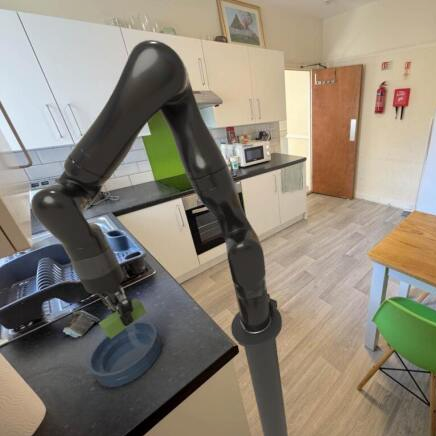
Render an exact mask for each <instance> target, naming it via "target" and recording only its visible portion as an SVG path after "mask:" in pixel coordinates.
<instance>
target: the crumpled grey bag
mask: <svg viewBox="0 0 436 436" xmlns="http://www.w3.org/2000/svg"><path fill="white" fill-rule="evenodd" d="M72 316H73V318H72V320H70V322H69V323H67V324H66V325H65V327H64V328H63V330H62V333H65V334H64V335H65V337H68V336H71V338H75V339H76V338H77V339H78V338H79V337H83V336H84V335H85V334H86V333H87V331H89V329H90V328H91V327H92V326H93V325H94V324H95V323H100V322H101V321H102V319H100V318H99V317H97V316H95V315H93V314H91V313H89V312H87V311H86V310H84V309H83V310H82V309H81V310H77V311H72Z"/></svg>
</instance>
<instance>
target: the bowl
mask: <svg viewBox="0 0 436 436" xmlns="http://www.w3.org/2000/svg"><path fill="white" fill-rule="evenodd" d="M161 350H162V339H161V337H160V335H159V333H158V330H157V328H156V326H155V325H154V324H153V323H151V322H149V321H144V320H142V321H135V322H133V323H132V324H131V325H129V326H128V327H127V328H125V329H124V330H122V331H121V332H120V333H118V334H117V335H116V336H114V337H113V338H112V339H111V338H110V337H108V336H107V335H105V337H104V338H103V339H101V340H100V342H99V343H97V345H96V346H95V347H94V348H93V350H92V351H91V353H90V355H89V359H88V362H87V365H88V369H89V372H90V373H91V375H92V376H93V378H94V379H95V380H96V381H97V382H98V384H99V385H100V386H103V387H107V388H115V387H121V386H123V385H126V384H128V383H131V382H133V381H134V380H136V379H137V378H139V377H140V376H142V375H143V374H144V373H145V372H146V371H148V370H149V369H150V368H151V367H152V365H154V363H155V361H156V360H157V359H158V357H159V355H160V353H161Z"/></svg>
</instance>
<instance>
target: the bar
mask: <svg viewBox="0 0 436 436" xmlns="http://www.w3.org/2000/svg"><path fill="white" fill-rule="evenodd" d="M131 301H132V307H133V312H131V315H132V317H133V322H137V320H139V319H140V318H141V317H143V316H144V315H145V314H147V311H146V309H145V306H144V304H143V303H142V301H140V300H139V299H138V298H134V299H131ZM133 322H132V323H133ZM132 323H130V324H129V325H131V324H132ZM98 325H99V326H100V328H101V330H102V331H103V332H104V334H105V336H108V337H110V338H111V339H112V338H113V337H114V336H116V335H117V334H118V333H120V332H121V331H122V330H124V329H125V328H127V327H128V326H129V325H128V326H124V325H123V323H122V321H121V319H120V318H119V316H118V314H117V313H116V312H114V313H112V314H110V315H108V316H107V317H105V318H104V319H102V320H101V321H99V322H98Z"/></svg>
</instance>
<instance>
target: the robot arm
mask: <svg viewBox="0 0 436 436" xmlns="http://www.w3.org/2000/svg"><path fill="white" fill-rule="evenodd" d="M158 112H160V114H161V116H162V118H163V119H164V121H165V122H166V125H167V126H168V128H169V130H170V132H171V135H172V137H173V141H174V144H175V147H176V151H177V154H178V157H179V160H180V163H181V165H182V168H183V170H184V173H185V175H186V177H187V179H188V181H189V183H190V185H191V187H192V189H193V191H194V192H195V195H196V196H197V197H198V199H199V201H200V202H201V203H202V204H203V205H204V207H205V208H206V209H207V210H208V211H209V212H210V213H211V214H212V216H213V217H214V218H215V220H216V222H217V223H218V226H219V229H220V231H221V233H222V236H223V239H224V242H225V246H226V248H225V249H226V256H227V261H228V266H229V267H228V268H229V271H230V276H231V280H232V283H233V287H234V288H233V289H234V292H235V297H236V301H237V302H236V303H237V306H238V312H240V316H241V321H242V322H241V321H240V322H241V324H242V327H243V330H244V331H245V332H246V333H248V334H252V335H256V334H260V333H263V332H264V331H266V330H267V329H268V328H269V326H270V324H271V317H272V312H274V311H275V310H276V308H277V309H278V301H277V300H276V299H273V298H272V297H271V295H270V294H269V293H268V287H267V282H266V275H267V273H266V262H265V255H264V249H263V245H262V243H261V241H260V237H259V236H258V234H257V233H256V230H255V229H254V227H253V226H252V225H251V223H250V221H249V219H248V218H247V216H246V214H245V211H244V210H243V207H242V204H241V200H240V196H239V192H238V189H237V186H236V183H235V179H234V177H233V175H232V172H231V171H230V168H229V165H228V163H227V161H226V159H225V157H224V155H223V153H222V151H221V149H220V147H219V145H218V143H217V141H216V140H215V138H214V136H213V135H212V132H211V131H210V129H209V128H208V126H207V124H206V122H205V120H204V118H203V116H202V113H201V111H200V108H199V104H198V102H197V99H196V96H195V93H194V89H193V88H192V84H191V81H190V76H189V72H188V69H187V67H186V65H185V63H184V61H183V59H182V58H181V56H180V55H179V54H178V53H177V51H176V50H175V49H173V48H172V47H171V46H170V45H168V44H166V43H165V42H162V41H159V40H156V39H155V40H154V39H146V40H143V41H140V42H138V43H137V44H135V46H134V47H133V48H132V49H131V51H130V53H129V55H128V58H127V60H126V62H125V65H124V67H123V69H122V71H121V73H120V76H119V79H118V81H117V82H116V85H115V87H114V88H113V90H112V93H111V94H110V97H109V98H108V100H107V102H105V105H104V107H103V108H102V109H101V111H100V112H99V114H98V115H97V116H96V118H95V120H94V121H93V122H92V123H91V125H90V126H89V128H88V129H87V130H86V131H85V133H84V134H83V135H82V137H81V138H80V139H79V141H78V142H77V143H76V145H75V146H74V148H73V149H72V150H71V152H69V154H68V156H67V157H66V158H65V161H64V163H63V169H64V170H63V171H62V173H61V174H60V176H59V177H58V178H57V180H55V181H54V182H53V183H52V184H50V185H48V186H46V187H44V188H42V189H40V190H39V191H37V192H35V194H34V195H33V196H32V198H31V204H30V206H31V210H32V213H33V215H34V217H35V218H36V220H37V221H38V222H39V223H40V224H41V226H43V227H44V228H45V229H46V231H48V232H49V233H50V234H51V235H52V236H53V237H54V238H55V239H56V240H58V241H59V242H60V243H61V245H62V247H63V249H64V251H65V252H66V255H67V256H68V258H69V260H70V262H71V265H72V268H73V270H74V272H75V273H76V275H77V278H78V279H79V281H80V282H81V284H82V286H83V288H84V289H85V291H86V292H87V293H88V294H92V295H98V297H99V298H100V300H101V302H102V303H103V305H104V306H106V307H107V309H108V310H110V311H111V312H112V314H113V313H114V312H116V313H117V314H118V316H119V318H120V319H121V321H122V323H123V325H124V326H128V325H129V324H130V323H132V322H133V317H132V315H131V312H133V307H132V298H131V297H130V296H126V294H125V290H124V287H123V286H121V285H120V284H121V283H122V282H123V281H124V279H125V273H124V272H123V269H122V267H121V264H120V263H119V261H118V258H117V256H116V254H115V252H114V250H113V249H112V247H111V246H110V244H109V242H108V240H107V237H106V235H105V233H104V231H103V229H102V228H101V226H100V225H99V224H97V223H94V222H89V221H88V220H87V219H86V217H85V215H84V212H85V211H86V210H87V209H89V208H90V206H91V205H92V204H93V203H94V202H95V200H96V198H98V195H99V194H100V192H101V190H102V188H103V187H104V186H105V184H106V182H107V181H109V180H110V178H111V177H112V176H113V175H114V173H115V172H116V171H117V169H118V168H119V167H120V165H122V163H123V161H124V160H125V159H126V157H127V156H128V154H129V152H130V150H131V149H132V147H133V145H134V143H135V142H136V140H137V138H138V136H139V135H140V133H141V131H142V130H143V129H144V127H145V126H146V125H147V123H148V122H149V121H150V120H151V119H152V117H154V115H156V114H157V113H158Z"/></svg>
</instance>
